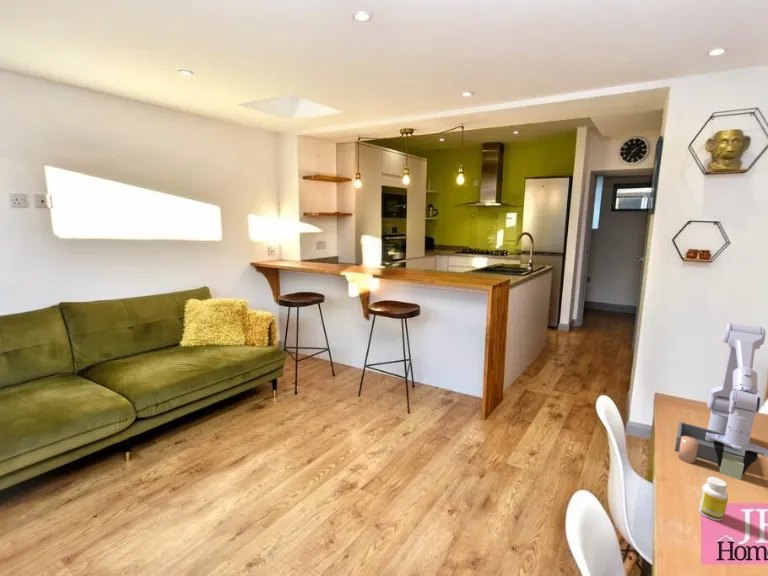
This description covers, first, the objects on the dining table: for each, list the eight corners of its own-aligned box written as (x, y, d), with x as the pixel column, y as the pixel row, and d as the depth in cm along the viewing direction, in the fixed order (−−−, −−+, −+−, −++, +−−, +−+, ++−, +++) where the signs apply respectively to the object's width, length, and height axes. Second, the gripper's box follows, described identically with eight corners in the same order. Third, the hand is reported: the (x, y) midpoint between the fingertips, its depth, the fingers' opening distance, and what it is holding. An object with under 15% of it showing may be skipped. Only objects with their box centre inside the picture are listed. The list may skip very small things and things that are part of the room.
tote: (740, 452, 140) (743, 438, 139) (743, 471, 129) (746, 456, 128) (677, 434, 150) (679, 421, 149) (675, 450, 139) (677, 436, 138)
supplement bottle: (728, 523, 107) (735, 489, 105) (704, 519, 108) (711, 486, 106) (716, 508, 112) (722, 476, 110) (693, 505, 113) (699, 473, 111)
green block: (739, 472, 128) (742, 457, 128) (740, 479, 125) (744, 465, 124) (719, 465, 131) (722, 451, 131) (719, 473, 128) (722, 458, 127)
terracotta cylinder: (688, 455, 137) (691, 436, 136) (698, 463, 132) (702, 443, 131) (674, 454, 137) (678, 435, 135) (684, 463, 132) (688, 443, 131)
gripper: (709, 425, 126) (701, 465, 129) (772, 442, 118) (763, 484, 120) (708, 416, 132) (701, 455, 134) (769, 432, 123) (760, 473, 126)
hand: (730, 468), depth 128 cm, fingers closed on green block, 5 cm apart
